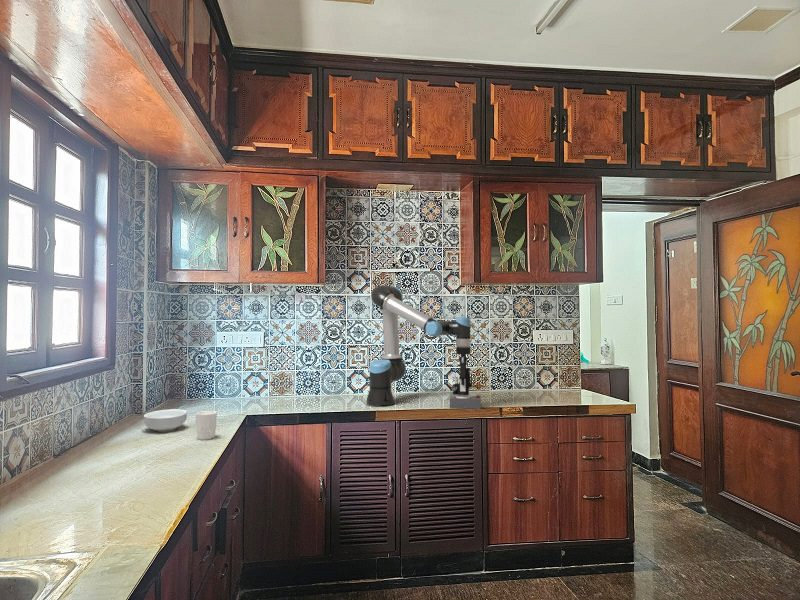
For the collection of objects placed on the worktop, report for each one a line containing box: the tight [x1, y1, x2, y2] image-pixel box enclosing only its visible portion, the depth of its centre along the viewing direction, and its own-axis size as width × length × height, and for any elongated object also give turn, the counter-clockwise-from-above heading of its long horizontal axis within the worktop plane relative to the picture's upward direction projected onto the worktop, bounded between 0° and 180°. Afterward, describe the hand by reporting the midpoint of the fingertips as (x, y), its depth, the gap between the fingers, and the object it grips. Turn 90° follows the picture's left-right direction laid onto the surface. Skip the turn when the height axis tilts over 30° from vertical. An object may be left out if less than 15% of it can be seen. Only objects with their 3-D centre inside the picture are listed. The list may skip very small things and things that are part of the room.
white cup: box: [195, 410, 218, 441], centre depth 199 cm, size 8×8×10 cm
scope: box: [451, 367, 473, 396], centre depth 260 cm, size 8×14×10 cm
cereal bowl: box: [143, 408, 188, 433], centre depth 212 cm, size 17×17×7 cm
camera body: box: [449, 394, 482, 410], centre depth 260 cm, size 16×8×6 cm, turn 79°
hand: (463, 389), depth 260 cm, fingers open, 8 cm apart
